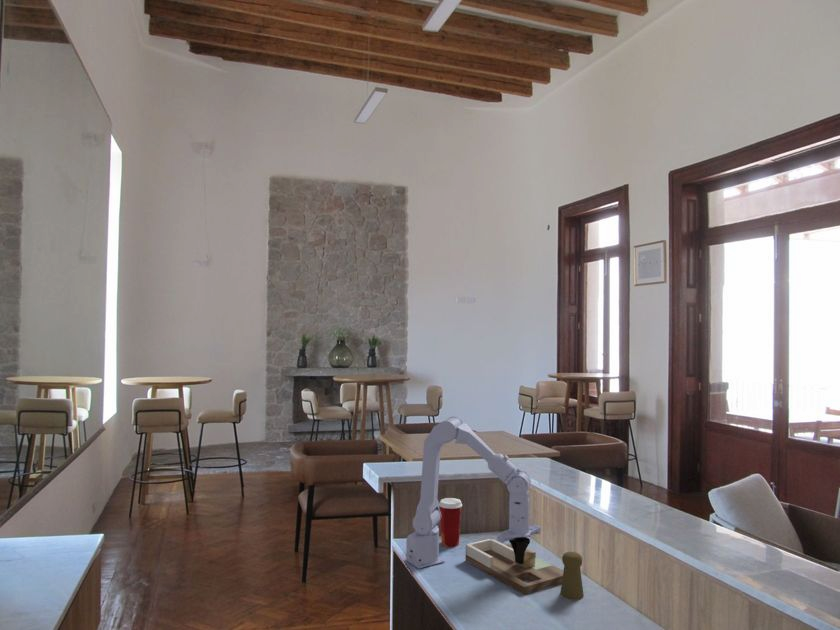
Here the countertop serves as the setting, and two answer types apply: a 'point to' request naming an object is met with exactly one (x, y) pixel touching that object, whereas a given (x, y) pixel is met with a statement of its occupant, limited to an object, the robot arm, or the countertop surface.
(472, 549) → the cubby
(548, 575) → the board
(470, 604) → the countertop surface
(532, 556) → the block
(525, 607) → the countertop surface
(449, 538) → the paper cup
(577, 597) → the cork
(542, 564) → the pad
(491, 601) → the countertop surface
